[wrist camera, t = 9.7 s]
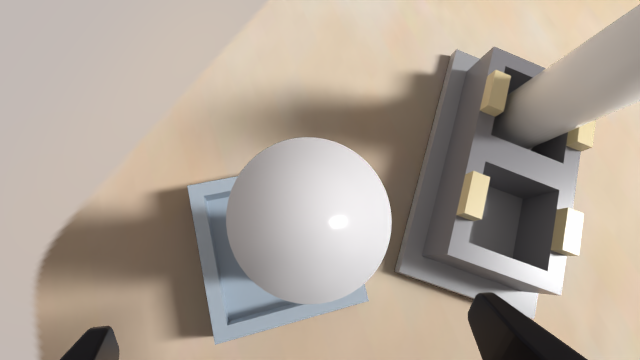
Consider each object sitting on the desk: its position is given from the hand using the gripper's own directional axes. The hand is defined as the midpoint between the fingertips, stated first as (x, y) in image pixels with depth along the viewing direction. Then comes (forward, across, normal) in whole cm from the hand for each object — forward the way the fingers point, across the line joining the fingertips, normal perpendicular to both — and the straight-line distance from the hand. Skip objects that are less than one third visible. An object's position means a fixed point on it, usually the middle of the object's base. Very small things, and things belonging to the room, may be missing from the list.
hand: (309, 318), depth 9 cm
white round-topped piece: (+10, 0, +7) cm, 12 cm away
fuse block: (+13, -14, +4) cm, 20 cm away
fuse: (+15, -16, +2) cm, 21 cm away
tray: (+10, 0, +7) cm, 13 cm away
